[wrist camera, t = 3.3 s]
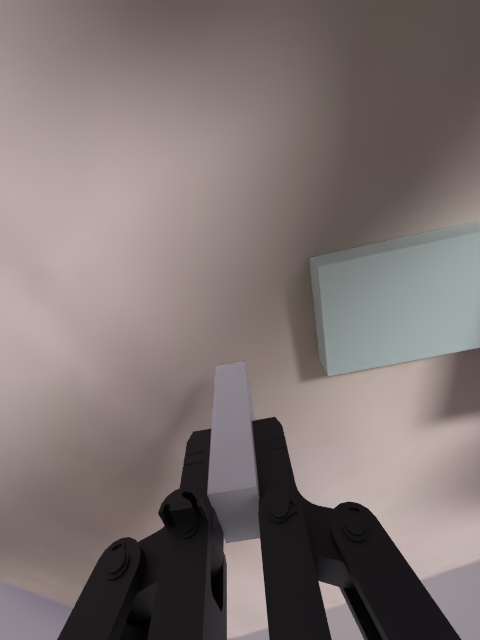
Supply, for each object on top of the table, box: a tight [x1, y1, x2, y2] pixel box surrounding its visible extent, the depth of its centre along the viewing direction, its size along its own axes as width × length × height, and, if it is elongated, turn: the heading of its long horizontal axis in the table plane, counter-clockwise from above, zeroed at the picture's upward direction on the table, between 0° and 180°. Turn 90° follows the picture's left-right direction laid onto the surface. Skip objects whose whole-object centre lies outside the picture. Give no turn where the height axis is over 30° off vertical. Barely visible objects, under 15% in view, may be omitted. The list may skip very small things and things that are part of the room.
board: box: [309, 220, 480, 377], centre depth 18 cm, size 8×11×2 cm
